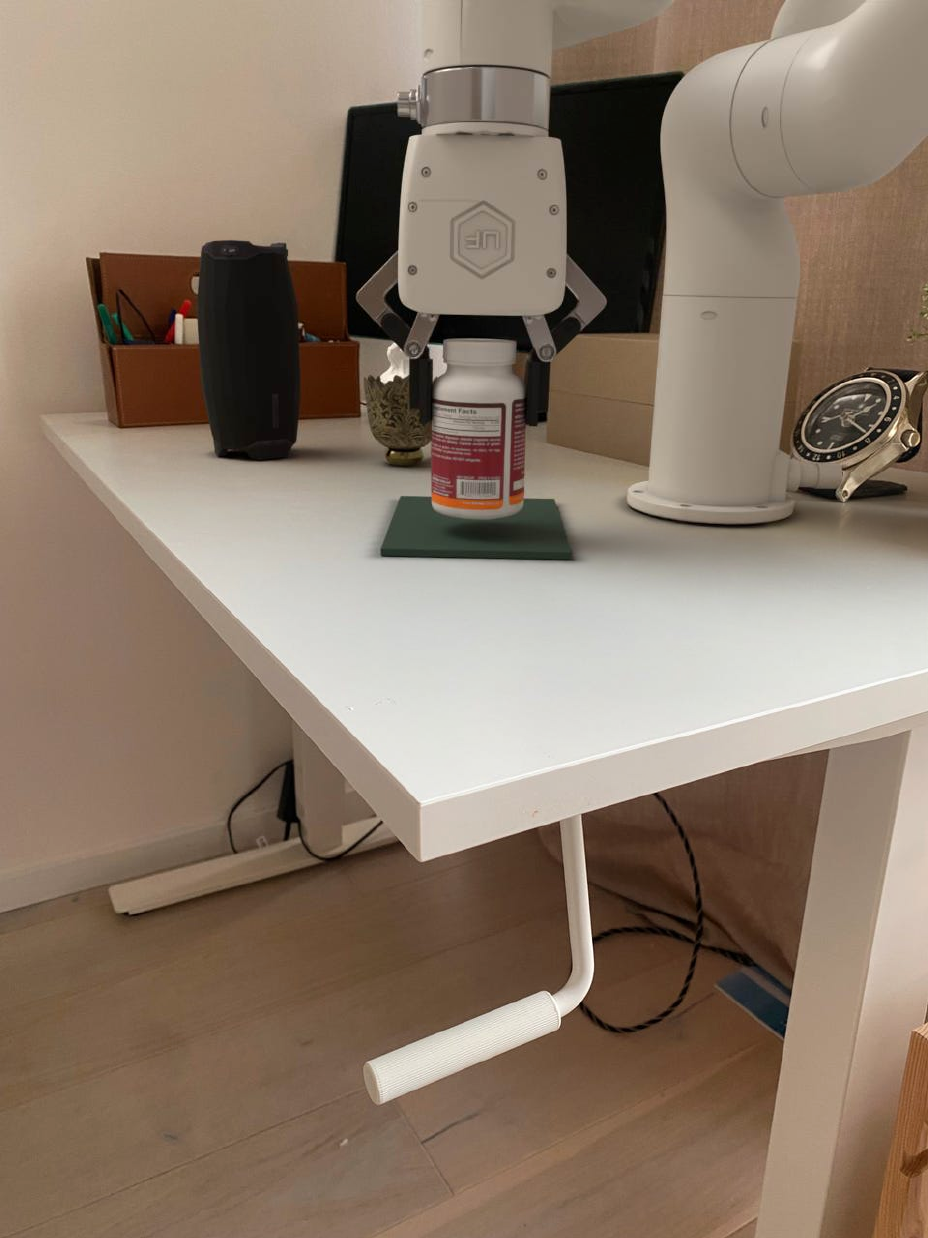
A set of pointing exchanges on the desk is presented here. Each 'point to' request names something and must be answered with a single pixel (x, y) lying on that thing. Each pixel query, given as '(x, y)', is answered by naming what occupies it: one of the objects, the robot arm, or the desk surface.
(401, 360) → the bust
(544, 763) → the desk surface
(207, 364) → the portable speaker
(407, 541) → the desk mat
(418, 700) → the desk surface
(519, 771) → the desk surface
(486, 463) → the pill bottle
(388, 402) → the cup
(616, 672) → the desk surface
